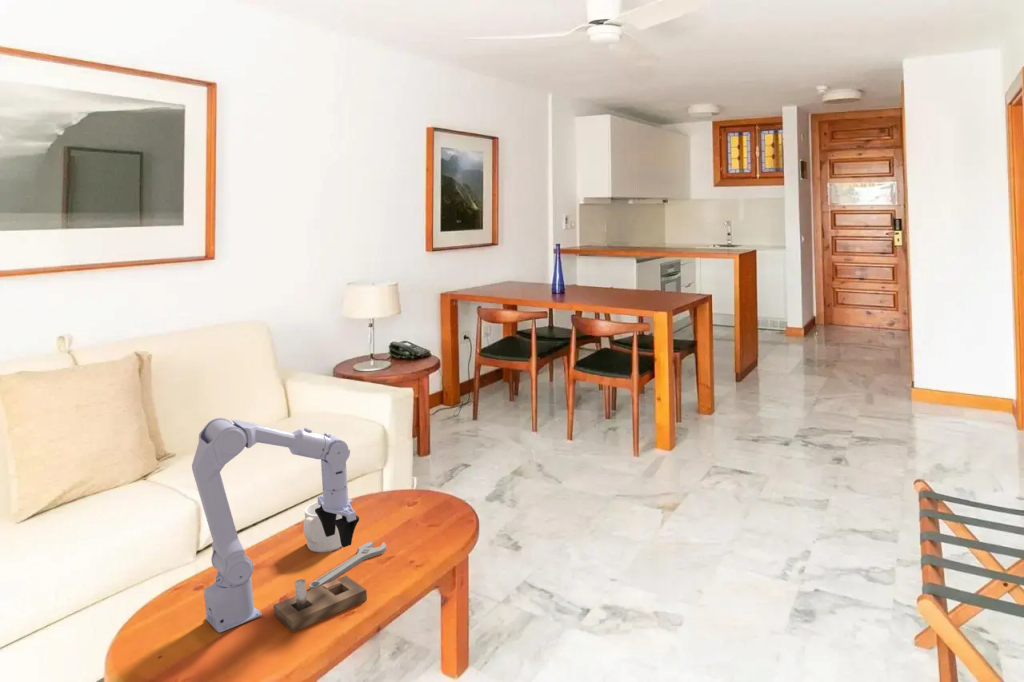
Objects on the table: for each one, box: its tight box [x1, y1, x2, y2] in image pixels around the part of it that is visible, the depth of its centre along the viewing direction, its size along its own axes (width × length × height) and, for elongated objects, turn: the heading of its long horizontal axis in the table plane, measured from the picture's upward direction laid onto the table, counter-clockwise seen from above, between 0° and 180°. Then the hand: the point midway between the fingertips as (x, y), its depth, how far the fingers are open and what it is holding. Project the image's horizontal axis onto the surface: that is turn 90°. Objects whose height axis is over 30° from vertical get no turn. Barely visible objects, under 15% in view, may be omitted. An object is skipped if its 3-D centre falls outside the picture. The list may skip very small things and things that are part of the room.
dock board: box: [273, 575, 368, 633], centre depth 156 cm, size 18×9×3 cm, turn 133°
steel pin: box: [294, 579, 307, 611], centre depth 152 cm, size 2×2×8 cm
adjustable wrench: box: [308, 541, 387, 590], centre depth 175 cm, size 25×6×2 cm, turn 146°
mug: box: [303, 501, 342, 553], centre depth 185 cm, size 13×10×10 cm
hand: (338, 540), depth 167 cm, fingers open, 7 cm apart
